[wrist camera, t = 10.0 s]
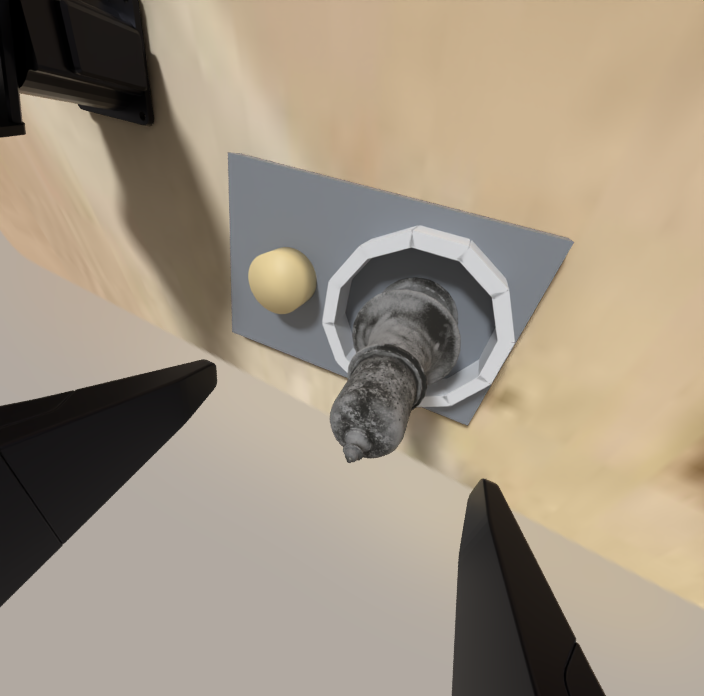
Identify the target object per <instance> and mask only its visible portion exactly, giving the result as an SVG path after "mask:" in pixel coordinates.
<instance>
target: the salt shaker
mask: <svg viewBox="0 0 704 696" xmlns="http://www.w3.org/2000/svg"><path fill="white" fill-rule="evenodd" d="M457 325H458V311H457V307H456V304H455V301H454V300H453V298H452V297H451V295H450V294H449V292H448V291H447V290H445V289H444V288H443V287H442V286H441V285H440V284H438V283H436V282H434V281H432V280H429V279H425V278H420V277H411V278H404V279H401V280H398V281H395V282H394V283H392V284H391V285H389V286H388V287H386V289H385V290H384V291H383V292H382V293H381V294H378V295H377V296H375V297H374V298H372V299H371V300H369V301H368V302H366V304H365V305H364V306H363V307H362V308H361V310H360V311H359V312H358V314H357V316H356V319H355V321H354V324H353V332H352V338H353V345H354V349H355V351H356V354H355V355H354V356H353V357H352V359H351V361H350V364H349V366H348V373H347V376H348V381H347V383H346V384H345V386H344V387H343V389H342V390H341V392H340V394H339V395H338V397H337V398H336V400H335V402H334V404H333V406H332V409H331V412H330V423H331V428H332V431H333V433H334V436H335V438H336V440H337V441H338V442H339V443H340V444H341V446H343V452H344V454H345V458H346V459H347V462H348V463H351V462H355V461H356V460H360V459H362V458H363V457H364V458H378V457H382V456H385V455H387V454H390V453H391V452H393V451H394V450H395V449H396V448H397V447H398V445H399V444H400V442H401V441H402V439H403V437H404V433H405V430H406V426H407V423H408V419H409V416H410V413H411V410H413V409H414V408H416V407H417V406H418V405H420V403H421V402H422V400H423V399H424V397H425V394H426V390H427V386H428V385H431V384H433V383H436V382H438V381H440V380H441V379H442V378H443V377H445V376H446V375H447V374H449V372H450V371H451V370H452V368H453V367H454V365H455V364H456V362H457V359H458V356H459V353H460V347H461V336H460V333H459V329H458V326H457Z"/></svg>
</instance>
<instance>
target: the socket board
mask: <svg viewBox="0 0 704 696" xmlns="http://www.w3.org/2000/svg"><path fill="white" fill-rule="evenodd" d="M228 174H229V215H230V257H231V298H232V332H234V333H236V334H239V335H241V336H244V337H246V338H249V339H251V340H254V341H256V342H259V343H261V344H264V345H266V346H269V347H271V348H274V349H276V350H279V351H281V352H284V353H286V354H289V355H291V356H294V357H296V358H299V359H301V360H304V361H307V362H309V363H312V364H314V365H317V366H319V367H322V368H324V369H327V370H329V371H332V372H334V373H337V374H339V375H342V376H344V377H347V378H348V376H347V373H348V366H349V364H350V361H351V359H352V357H353V356H354V355H355V354H356V351H355V349H354V345H353V338H352V332H353V324H354V321H355V319H356V316H357V314H358V312H359V311H360V310H361V308H362V307H363V306H364V305H365V304H366V302H368V301H369V300H371V299H372V298H374V297H375V296H377V295H378V294H381V293H382V292H383V291H384V290H385V289H386V287H388V286H389V285H391V284H392V283H394V282H395V281H398V280H401V279H404V278H411V277H420V278H425V279H429V280H432V281H434V282H436V283H438V284H440V285H441V286H442V287H443V288H444V289H445V290H447V291H448V292H449V294H450V295H451V297H452V298H453V300H454V301H455V304H456V307H457V311H458V325H457V326H458V329H459V333H460V336H461V347H460V353H459V356H458V359H457V362H456V364H455V365H454V367H453V368H452V370H451V371H450V372H449V374H447V375H446V376H445V377H443V378H442V379H441V380H440V381H438V382H436V383H433V384H431V385H428V386H427V390H426V394H425V397H424V399H423V400H422V402H421V403H420V405H418V406H417V407H422V408H425V409H427V410H430V411H432V412H435V413H437V414H440V415H442V416H445V417H447V418H450V419H452V420H455V421H457V422H460V423H462V424H465V425H467V426H468V424H469V422H470V421H471V419H472V417H473V415H474V414H475V412H476V410H477V409H478V407H479V405H480V403H481V402H482V400H483V398H484V396H485V395H486V393H487V391H488V390H489V388H490V386H491V384H492V383H493V381H494V379H495V378H496V376H497V374H498V372H499V371H500V369H501V367H502V365H503V364H504V362H505V360H506V359H507V357H508V355H509V353H510V352H511V350H512V348H513V346H514V345H515V343H516V341H517V340H518V338H519V336H520V334H521V333H522V331H523V329H524V328H525V326H526V324H527V322H528V321H529V319H530V317H531V315H532V314H533V312H534V310H535V309H536V307H537V305H538V303H539V302H540V300H541V298H542V297H543V295H544V293H545V291H546V290H547V288H548V286H549V284H550V283H551V281H552V279H553V278H554V276H555V274H556V272H557V271H558V269H559V267H560V265H561V264H562V262H563V260H564V259H565V257H566V255H567V253H568V252H569V250H570V248H571V247H572V245H573V243H574V242H573V241H572V240H570V239H569V238H566V237H562V236H558V235H554V234H551V233H547V232H543V231H539V230H535V229H531V228H527V227H523V226H520V225H516V224H512V223H508V222H504V221H500V220H496V219H492V218H489V217H485V216H481V215H477V214H473V213H469V212H465V211H461V210H457V209H454V208H450V207H446V206H442V205H438V204H434V203H430V202H426V201H423V200H419V199H415V198H411V197H407V196H403V195H399V194H395V193H392V192H388V191H384V190H380V189H376V188H372V187H368V186H364V185H361V184H357V183H353V182H349V181H345V180H341V179H337V178H333V177H329V176H326V175H322V174H318V173H314V172H310V171H306V170H302V169H298V168H295V167H291V166H287V165H283V164H279V163H275V162H271V161H267V160H264V159H260V158H256V157H252V156H248V155H244V154H240V153H230V152H228Z"/></svg>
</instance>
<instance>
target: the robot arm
mask: <svg viewBox="0 0 704 696" xmlns="http://www.w3.org/2000/svg"><path fill="white" fill-rule="evenodd" d="M19 93H21V94H26V95H32V96H37V97H43V98H48V99H54V100H59V101H65V102H70V103H75V104H78V106H79V107H80V108H81V109H83V110H86V111H90V112H94V113H98V114H102V115H106V116H110V117H114V118H117V119H121V120H125V121H129V122H133V123H137V124H141V125H146V126H152V125H153V122H154V117H153V110H152V102H151V94H150V87H149V79H148V71H147V64H146V56H145V48H144V41H143V33H142V25H141V18H140V10H139V2H138V0H0V138H1V137H9V136H17V135H25V134H26V131H25V123H24V122H22V113H21V104H20V94H19ZM216 384H217V370H216V365H215V364H214V363H212V362H210V361H208V360H199V361H194V362H191V363H186V364H182V365H178V366H173V367H169V368H165V369H161V370H156V371H152V372H149V373H144V374H140V375H135V376H131V377H127V378H123V379H119V380H114V381H110V382H106V383H103V384H98V385H93V386H89V387H85V388H81V389H77V390H75V391H68V392H64V393H60V394H56V395H51V396H47V397H42V398H38V399H33V400H29V401H23V402H18V403H13V404H8V405H3V406H0V607H1V606H2V605H3V604H4V603H5V602H6V601H7V600H8V599H9V598H10V597H11V596H12V595H13V594H14V593H15V592H16V591H17V590H18V589H19V588H20V587H21V586H22V585H23V584H24V583H25V582H26V581H27V580H28V579H29V578H30V577H31V576H32V575H33V574H34V573H35V572H36V571H37V570H38V569H39V568H40V567H41V566H42V565H43V564H44V563H45V562H46V561H47V560H48V559H49V558H50V557H51V556H52V555H53V554H54V553H55V552H57V551H58V549H60V548H61V547H62V545H63V544H64V543H65V542H66V541H67V540H68V539H69V538H70V537H71V536H72V535H73V534H74V533H75V532H76V531H77V530H78V529H79V528H80V527H81V526H82V525H83V524H84V523H86V522H87V520H89V519H90V518H91V517H92V515H94V514H95V513H96V512H97V511H98V510H99V509H100V508H101V507H102V506H103V505H104V504H105V503H106V502H107V501H108V500H109V499H110V498H111V496H113V495H114V494H115V493H116V492H117V491H118V490H119V489H120V488H121V487H122V486H123V485H124V484H125V483H126V482H127V481H128V480H129V479H130V478H131V477H132V476H133V475H134V474H135V473H136V472H137V471H138V470H139V469H140V468H141V467H142V466H143V465H144V464H145V463H146V462H147V461H148V460H149V459H150V458H151V457H152V456H153V455H154V454H155V453H156V452H157V451H158V450H159V449H160V448H161V447H162V446H163V445H164V444H165V443H166V442H167V441H168V440H169V439H170V438H171V437H172V436H173V435H174V434H175V433H176V432H177V431H178V430H179V429H180V428H181V427H182V426H183V425H184V424H185V423H186V422H187V421H188V420H189V418H191V416H192V415H193V414H194V413H195V412H196V410H197V409H198V408H199V407H200V405H201V404H202V403H203V401H205V399H206V398H207V397H208V396H209V394H210V393H211V392H212V391H213V390H214V388H215V387H216ZM453 662H454V663H453V681H452V696H606V695H605V693H604V691H603V689H602V688H601V685H600V684H599V682H598V680H597V678H596V676H595V674H594V672H593V670H592V669H591V667H590V665H589V663H588V661H587V659H586V657H585V655H584V653H583V651H582V649H581V647H580V645H579V644H578V643H577V642H576V637H575V635H574V633H573V631H572V630H571V627H570V626H569V624H568V622H567V620H566V618H565V616H564V614H563V612H562V610H561V608H560V606H559V604H558V602H557V600H556V598H555V596H554V594H553V592H552V590H551V588H550V586H549V584H548V582H547V581H546V578H545V576H544V574H543V573H542V570H541V569H540V567H539V565H538V563H537V561H536V559H535V557H534V555H533V553H532V551H531V549H530V547H529V545H528V543H527V541H526V539H525V537H524V535H523V533H522V531H521V529H520V527H519V525H518V523H517V521H516V519H515V518H514V515H513V514H512V511H511V510H510V508H509V506H508V504H507V502H506V500H505V498H504V496H503V494H502V492H501V490H500V488H499V486H498V485H497V484H496V483H494V482H491V481H489V480H487V479H481V480H480V481H479V482H478V484H477V485H476V487H475V488H474V489H473V491H472V492H471V494H470V495H469V498H468V502H467V508H466V514H465V520H464V526H463V532H462V538H461V544H460V552H459V561H458V579H457V600H456V620H455V641H454V661H453Z"/></svg>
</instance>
